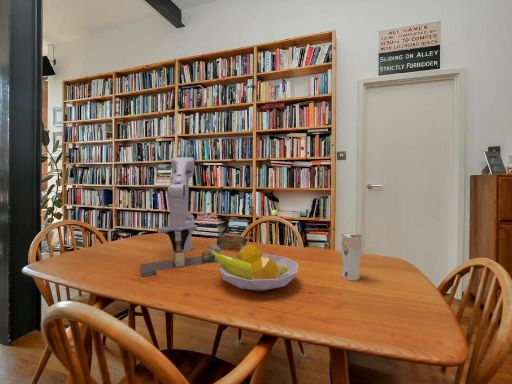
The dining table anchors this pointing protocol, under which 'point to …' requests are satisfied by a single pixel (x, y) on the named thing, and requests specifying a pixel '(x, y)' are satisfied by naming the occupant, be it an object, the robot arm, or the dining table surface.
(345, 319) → the dining table surface
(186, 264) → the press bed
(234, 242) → the tin
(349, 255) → the beer glass
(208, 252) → the walnut
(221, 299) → the dining table surface
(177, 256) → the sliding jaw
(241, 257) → the fruit bowl
